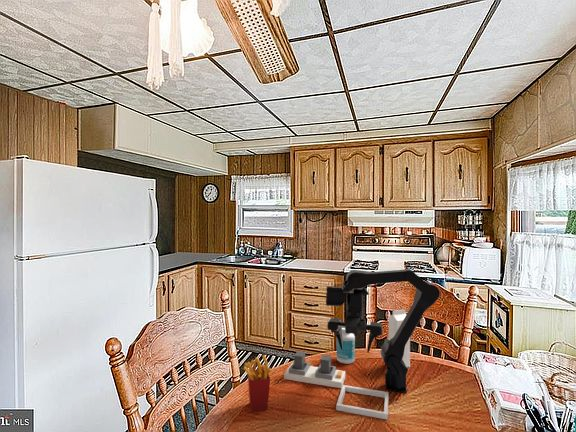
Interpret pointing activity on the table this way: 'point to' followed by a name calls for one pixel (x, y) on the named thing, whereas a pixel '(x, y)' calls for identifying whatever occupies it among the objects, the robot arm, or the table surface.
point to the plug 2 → (326, 364)
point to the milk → (394, 325)
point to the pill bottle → (346, 348)
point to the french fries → (258, 384)
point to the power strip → (316, 375)
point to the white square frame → (362, 410)
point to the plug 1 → (299, 360)
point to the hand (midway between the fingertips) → (354, 350)
